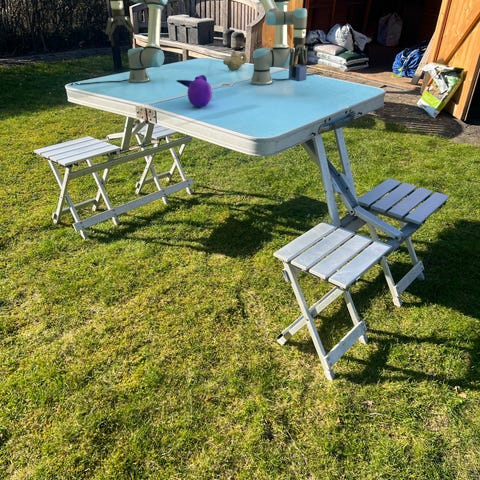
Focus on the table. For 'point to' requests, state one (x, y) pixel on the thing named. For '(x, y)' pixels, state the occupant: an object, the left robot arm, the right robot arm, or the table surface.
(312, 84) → the table surface
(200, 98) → the toy
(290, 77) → the brick
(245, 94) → the table surface
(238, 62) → the teapot
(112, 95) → the table surface
